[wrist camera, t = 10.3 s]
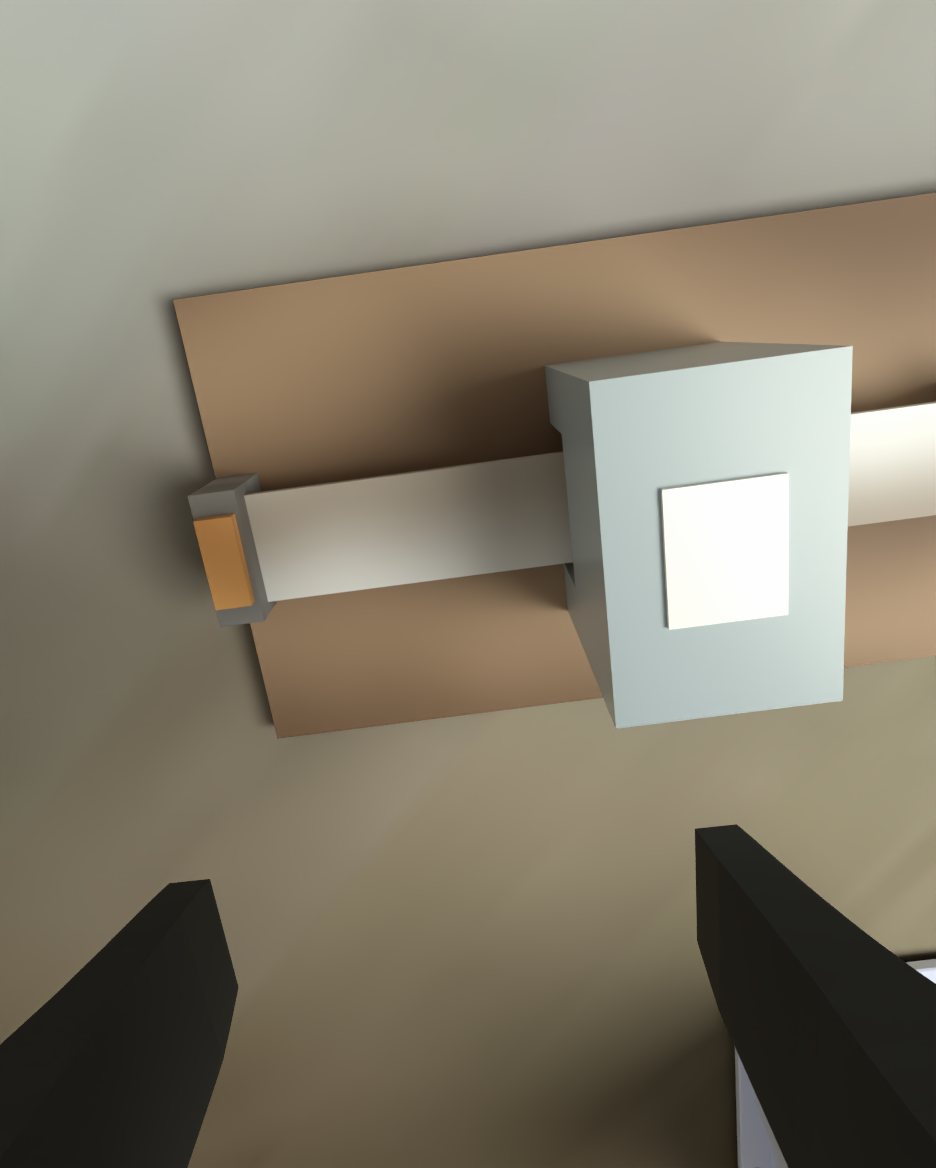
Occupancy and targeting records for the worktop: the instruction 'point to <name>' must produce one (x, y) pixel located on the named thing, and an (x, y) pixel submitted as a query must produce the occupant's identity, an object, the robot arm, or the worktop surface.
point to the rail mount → (524, 449)
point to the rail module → (708, 525)
